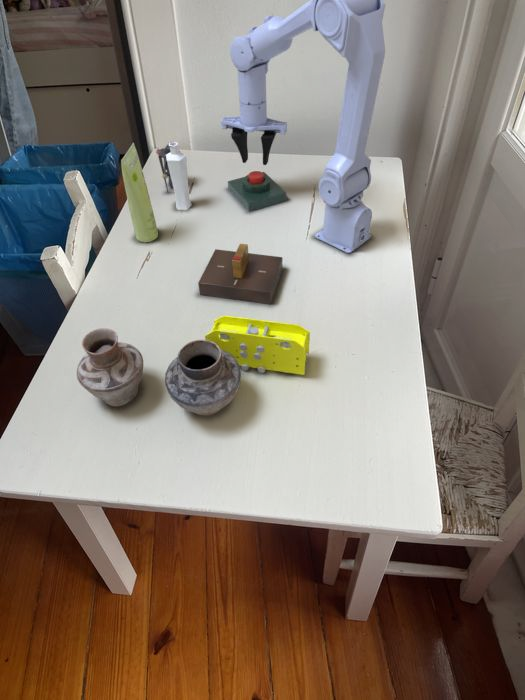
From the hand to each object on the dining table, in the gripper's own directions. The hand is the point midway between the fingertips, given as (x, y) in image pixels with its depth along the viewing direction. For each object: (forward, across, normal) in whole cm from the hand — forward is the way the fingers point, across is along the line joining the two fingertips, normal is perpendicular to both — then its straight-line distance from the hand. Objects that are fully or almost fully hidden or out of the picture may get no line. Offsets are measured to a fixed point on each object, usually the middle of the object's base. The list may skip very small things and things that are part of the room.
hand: (255, 162), depth 112 cm
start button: (+5, 0, 0) cm, 5 cm away
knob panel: (+8, +6, -33) cm, 34 cm away
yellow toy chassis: (+9, +15, -52) cm, 55 cm away
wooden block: (+5, +6, -33) cm, 34 cm away
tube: (+9, -19, -23) cm, 31 cm away
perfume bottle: (+9, -16, -9) cm, 20 cm away
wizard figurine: (+9, -21, -1) cm, 23 cm away
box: (+8, 0, 0) cm, 8 cm away
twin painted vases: (+9, +3, -63) cm, 64 cm away
